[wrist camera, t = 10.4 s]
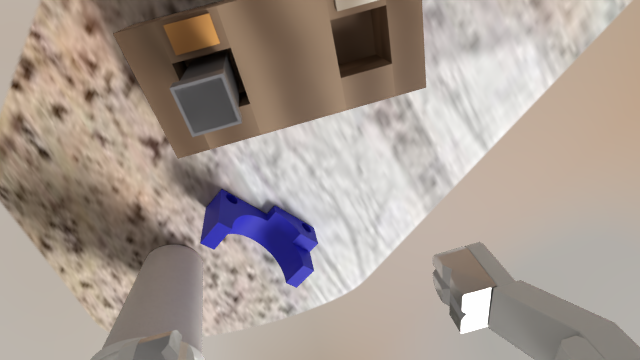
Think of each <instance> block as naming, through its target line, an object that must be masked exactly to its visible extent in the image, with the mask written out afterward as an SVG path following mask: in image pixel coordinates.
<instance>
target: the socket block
mask: <svg viewBox="0 0 640 360" xmlns="http://www.w3.org/2000/svg"><path fill="white" fill-rule="evenodd" d="M113 35H114V37H115V38H116V40H117V42H118V44H119V46H120V48H121V50H122V52H123V54H124V56H125V58H126V60H127V62H128V63H129V65H130V67H131V69H132V71H133V73H134V75H135V77H136V79H137V81H138V83H139V85H140V87H141V88H142V90H143V92H144V94H145V96H146V98H147V100H148V102H149V104H150V106H151V108H152V110H153V112H154V114H155V115H156V117H157V119H158V121H159V123H160V125H161V127H162V129H163V131H164V133H165V135H166V137H167V139H168V140H169V142H170V144H171V146H172V148H173V150H174V152H175V154H176V156H177V158H182V157H185V156H189V155H192V154H196V153H199V152H203V151H206V150H210V149H213V148H217V147H220V146H224V145H227V144H231V143H234V142H238V141H241V140H245V139H248V138H252V137H255V136H259V135H262V134H266V133H269V132H272V131H276V130H279V129H283V128H286V127H290V126H293V125H297V124H300V123H304V122H307V121H311V120H314V119H318V118H321V117H325V116H328V115H332V114H335V113H339V112H342V111H346V110H349V109H353V108H356V107H360V106H363V105H367V104H370V103H374V102H377V101H381V100H384V99H388V98H391V97H394V96H398V95H401V94H405V93H408V92H412V91H415V90H419V89H422V88H426V75H425V54H424V33H423V13H422V0H223V1H219V2H216V3H212V4H208V5H204V6H201V7H197V8H193V9H189V10H186V11H182V12H178V13H174V14H171V15H167V16H163V17H159V18H156V19H152V20H148V21H144V22H141V23H137V24H133V25H131V26H129V27H127V28H124V29H122V30H120V31H118V32H115V33H113ZM226 50H227V51H228V54H229V57H230V59H231V62H232V65H233V68H234V71H235V73H236V76H237V79H238V82H239V110H240V113H241V115H242V123H241V124H237V125H234V126H230V127H227V128H223V129H220V130H216V131H213V132H209V133H206V134H202V135H199V136H195V137H192V135H191V133H190V131H189V129H188V126H187V124H186V122H185V120H184V118H183V116H182V114H181V112H180V110H179V107H178V105H177V103H176V101H175V99H174V97H173V95H172V93H171V91H170V86H171V85H172V83H174V82H178V81H180V80H181V78H182V76H183V75H184V73H185V71H186V70H187V68H188V66H189V65H190V63H191V61H192V60H193V59H197V58H201V57H204V56H208V55H212V54H215V53H219V52H222V51H226Z"/></svg>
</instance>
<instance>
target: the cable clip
mask: <svg viewBox="0 0 640 360" xmlns="http://www.w3.org/2000/svg"><path fill="white" fill-rule="evenodd" d="M227 234H240V235H244V236H246V237H249V238H251V239H253V240H255V241H256V242H258V243H259V244H261V245H262V246H263V247H264V248H266V249H267V250H268V251H269V252H270V253H271V254H272V255H273V257H274V258H275V259H276V261H277V262H278V264H279V265H280V267H281V269H282V271H283V273H284V276H285V280H286V283H288V284H290V285H292V286H294V287H296V288H297V287H298V286H299V285H300V284H301V283H302V282H303V281H304V280H305V279H306V278H307V277H308V276H309V275H310V274H311V273H312V272H313V271H314V269H313V264H312V260H311V256H310V251H311V250H312V249H313V248H314V247H315V246H316V245H317V244H318V242H317V238H316V234H315V231H314V228H313V227H311V226H309V225H308V224H306V223H304V222H303V221H301V220H299V219H298V218H296V217H294V216H292V215H291V214H289V213H287V212H286V211H284V210H282V209H280V208H279V207H277V206H274V207H273V208H272V209H271V210H270V211H269V212H268V213H267V214H266V213H264V212H262V211H260V210H259V209H257V208H255V207H253V206H251V205H250V204H248V203H246V202H244V201H243V200H241V199H239V198H237V197H235V196H234V195H232V194H230V193H228V192H227V191H225V190H223V189H221V190H220V192H219V193H218V194H217V195H216V196H215V198H214V199H213V200H212V201H211V202H210V204H209V205H208V206H207V207H206V211H205V217H204V223H203V229H202V235H201V242H200V243H201V244H203V245H205V246H207V247H210V248H212V249H215V248H216V247H217V246H218V244H219V243H220V242H221V241H222V240H223V239H224V238H225V237H226V235H227Z"/></svg>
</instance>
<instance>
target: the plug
mask: <svg viewBox="0 0 640 360" xmlns="http://www.w3.org/2000/svg"><path fill="white" fill-rule="evenodd" d="M170 91H171V93H172V95H173V97H174V99H175V101H176V103H177V105H178V107H179V110H180V112H181V114H182V116H183V118H184V120H185V122H186V124H187V126H188V129H189V131H190V133H191V135H192V137H195V136H199V135H202V134H206V133H209V132H213V131H216V130H220V129H223V128H227V127H230V126H234V125H237V124H241V123H242V115H241V113H240V110H239V82H238V79H237V76H236V73H235V71H234V68H233V65H232V62H231V59H230V57H229V54H228V51H227V50H226V51H222V52H219V53H215V54H212V55H208V56H204V57H201V58H197V59H193V60H192V61H191V63H190V65H189V66H188V68H187V70H186V71H185V73H184V75H183V76H182V78H181V80H180V81H178V82H174V83H172V85H171V86H170Z"/></svg>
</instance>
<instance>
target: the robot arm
mask: <svg viewBox="0 0 640 360" xmlns="http://www.w3.org/2000/svg"><path fill="white" fill-rule="evenodd" d="M433 265H434V267H435V268H436V269H435V271H434V272H433V281H434V285H435V289H436V291H437V293H438V295H439V297H440V299H441V301H442V302H443V303H445V304H447V305H448V306H450V316H451V318H452V319H453V321H454V323H455V324H456V326H457V328H458V329H459V331H460V333H464V332H468V331H472V330H476V329H480V328H483V327H486V326H488V328H489V329H491V330H492V331H494V332H495V333H496V334H498V335H499V336H501V337H502V338H504V339H505V340H507V341H508V342H510V343H511V344H512V345H514V346H515V347H517V348H518V349H520V350H521V351H523V352H524V353H526V354H527V355H529V356H530V357H531V358H533V359H534V360H640V347H639V346H638V345H637V344H636V343H635V342H634V341H633V340H632V339H631V338H630V337H629V336H627V334H626V333H624V331H623V330H622V329H620V328H619V327H618V326H617V325H616V324H615V323H614V322H612V321H609V320H607V319H605V318H603V317H601V316H599V315H596V314H594V313H592V312H590V311H588V310H585V309H583V308H581V307H579V306H577V305H574V304H572V303H570V302H568V301H566V300H563V299H561V298H559V297H557V296H555V295H552V294H550V293H548V292H546V291H543V290H541V289H539V288H537V287H535V286H532V285H530V284H528V283H526V282H524V281H521V280H519V281H515V280H514V279H513V278H512V276H511V275H510V274H509V273H508V272H507V271H506V269H505V268H504V267H503V266H502V265H501V264H500V263H499V261H498V260H497V259H496V258H495V257H494V256H493V254H492V253H491V252H490V251H489V250H488V249H487V248H486V246H485V245H484V244H483V243H481V242H478V243H474V244H471V245H468V246H464V247H460V248H456V249H453V250H450V251H446V252H443V253H439V254H436V255H434V256H433ZM181 339H182V335H181V334H180V332H179V331H178V330H173V331H169V332H165V333H161V334H157V335H154V336H150V337H146V338H142V339H138V340H135V341H131V342H127V343H124V345H123V346H122V347H121V349H120V351H119V354H118V357H117V360H194V354H193V351H192V348H191V347H190V345H189V344H188V343H185V342H182V341H181Z"/></svg>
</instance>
